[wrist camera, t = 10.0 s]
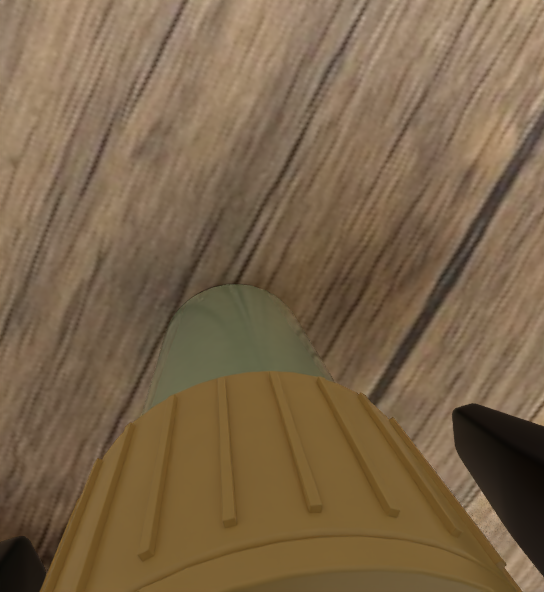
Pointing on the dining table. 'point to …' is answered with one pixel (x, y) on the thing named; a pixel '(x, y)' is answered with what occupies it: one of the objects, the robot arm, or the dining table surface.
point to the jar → (230, 341)
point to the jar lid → (270, 500)
